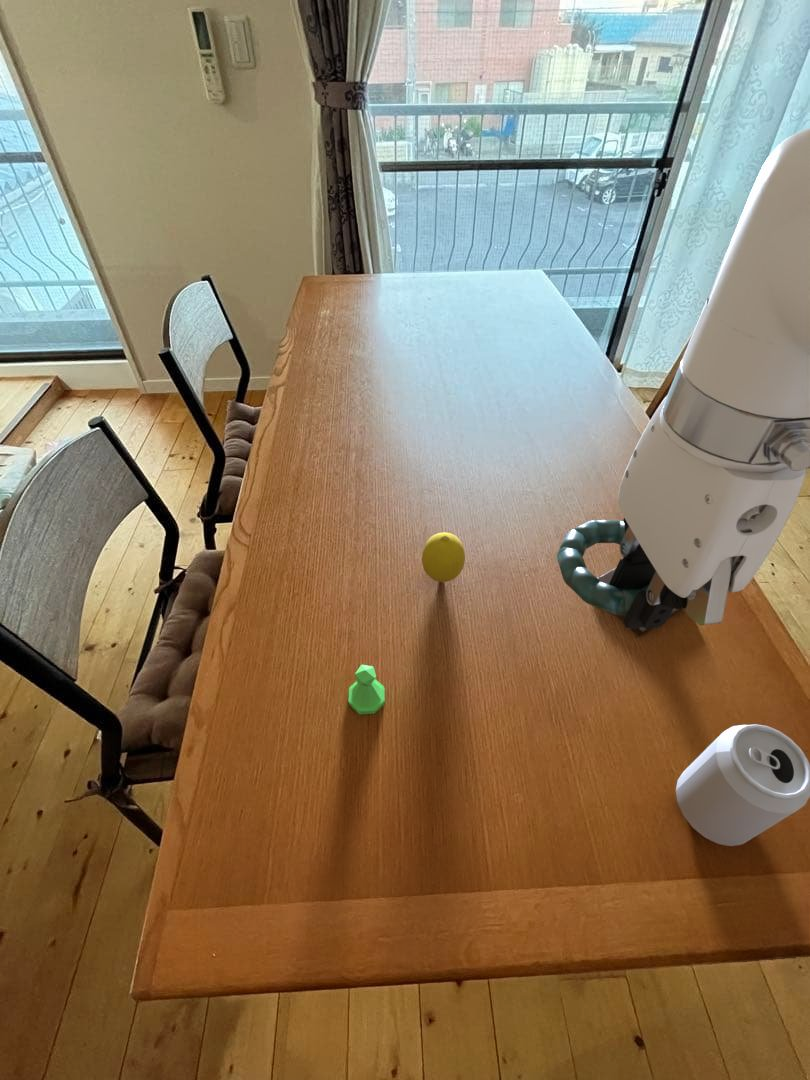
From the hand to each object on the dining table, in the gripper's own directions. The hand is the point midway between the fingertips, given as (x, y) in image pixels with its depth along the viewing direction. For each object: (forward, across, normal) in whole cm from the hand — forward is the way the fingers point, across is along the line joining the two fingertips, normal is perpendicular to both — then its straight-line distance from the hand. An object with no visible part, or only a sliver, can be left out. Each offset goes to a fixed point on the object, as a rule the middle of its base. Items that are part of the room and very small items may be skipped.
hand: (634, 606), depth 44 cm
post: (+22, +16, -15) cm, 31 cm away
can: (+22, -10, -11) cm, 27 cm away
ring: (-1, +4, 0) cm, 4 cm away
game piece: (+23, +7, +21) cm, 32 cm away
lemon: (+23, +23, +10) cm, 33 cm away
